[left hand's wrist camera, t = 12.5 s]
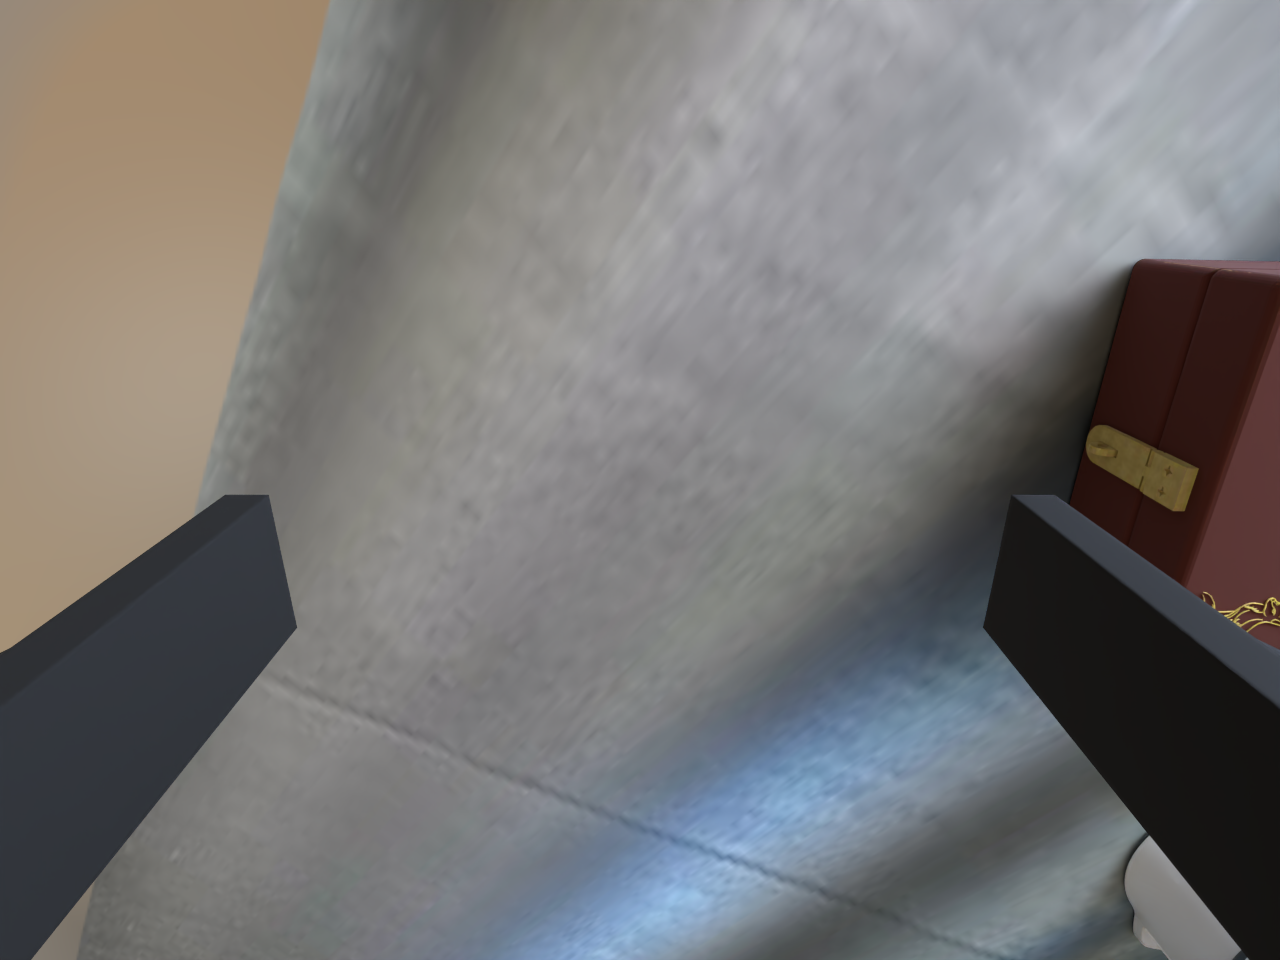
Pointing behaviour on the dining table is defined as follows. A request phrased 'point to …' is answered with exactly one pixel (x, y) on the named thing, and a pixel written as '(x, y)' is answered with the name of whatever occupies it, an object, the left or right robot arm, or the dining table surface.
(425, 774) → the dining table surface
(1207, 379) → the box
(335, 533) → the dining table surface
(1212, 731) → the left robot arm
